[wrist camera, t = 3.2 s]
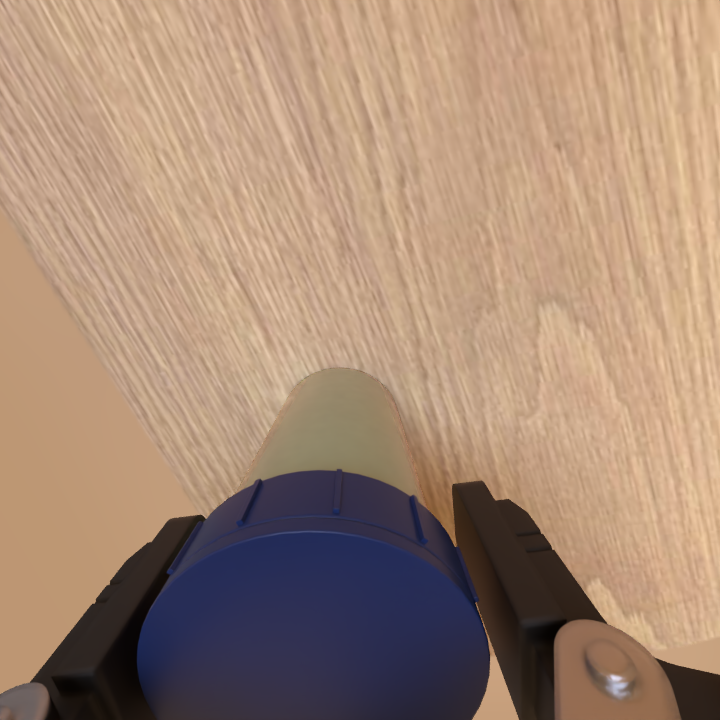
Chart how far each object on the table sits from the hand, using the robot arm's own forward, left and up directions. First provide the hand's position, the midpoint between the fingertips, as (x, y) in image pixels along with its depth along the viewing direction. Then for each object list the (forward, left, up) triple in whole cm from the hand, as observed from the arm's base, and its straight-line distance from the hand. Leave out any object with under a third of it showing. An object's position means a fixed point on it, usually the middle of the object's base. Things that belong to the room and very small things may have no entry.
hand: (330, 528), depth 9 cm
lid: (0, 0, +3) cm, 3 cm away
